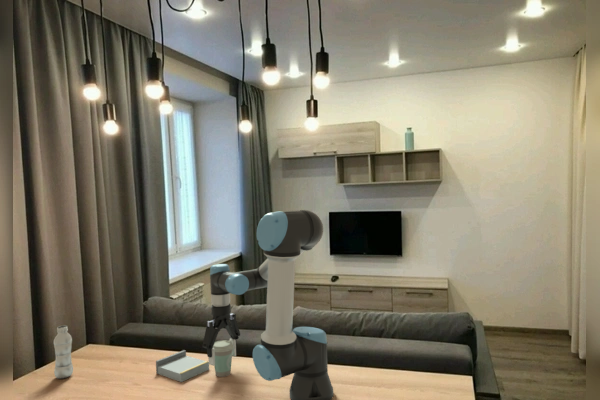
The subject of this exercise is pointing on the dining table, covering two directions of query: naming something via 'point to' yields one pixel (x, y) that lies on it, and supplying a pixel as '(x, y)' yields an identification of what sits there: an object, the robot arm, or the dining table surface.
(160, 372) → the plate
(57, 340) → the plastic bottle
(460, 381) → the dining table surface
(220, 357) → the coffee cup
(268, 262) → the robot arm
